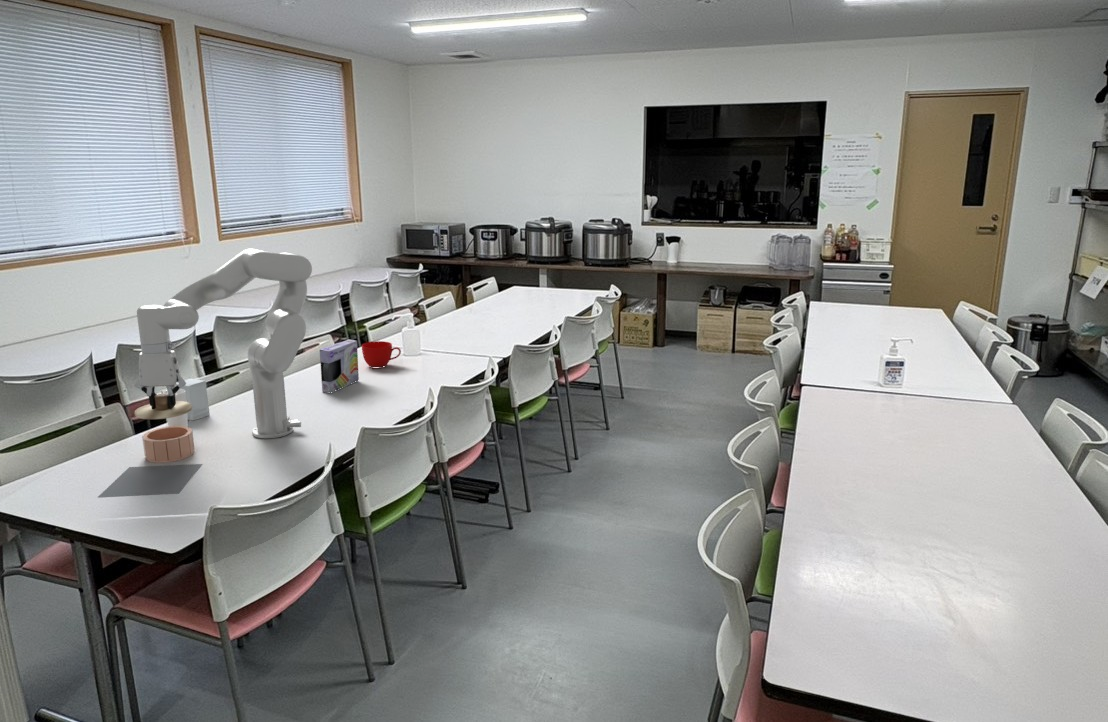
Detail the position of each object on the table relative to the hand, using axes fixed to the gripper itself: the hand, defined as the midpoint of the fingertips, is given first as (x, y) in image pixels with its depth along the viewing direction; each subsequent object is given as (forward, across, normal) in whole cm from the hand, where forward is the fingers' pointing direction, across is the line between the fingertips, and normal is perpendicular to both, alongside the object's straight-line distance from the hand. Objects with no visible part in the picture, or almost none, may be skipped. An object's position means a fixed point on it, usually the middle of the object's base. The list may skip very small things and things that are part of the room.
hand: (163, 407), depth 213 cm
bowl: (+15, 0, 0) cm, 15 cm away
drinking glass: (+16, +3, -17) cm, 23 cm away
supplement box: (+15, +4, -37) cm, 40 cm away
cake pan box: (+15, -41, -67) cm, 80 cm away
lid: (+1, 0, 0) cm, 1 cm away
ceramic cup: (+15, -55, -97) cm, 113 cm away
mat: (+15, -2, +19) cm, 24 cm away
